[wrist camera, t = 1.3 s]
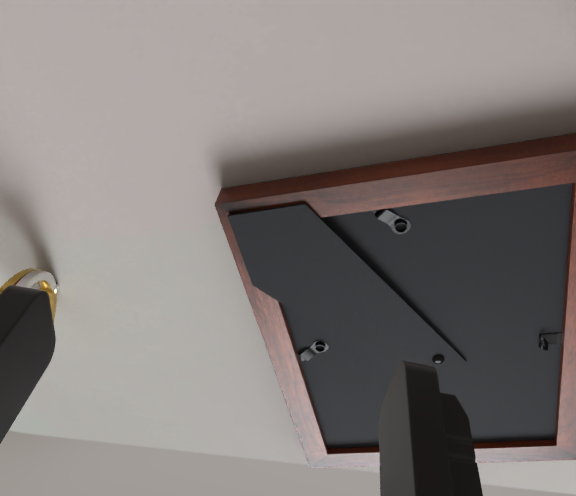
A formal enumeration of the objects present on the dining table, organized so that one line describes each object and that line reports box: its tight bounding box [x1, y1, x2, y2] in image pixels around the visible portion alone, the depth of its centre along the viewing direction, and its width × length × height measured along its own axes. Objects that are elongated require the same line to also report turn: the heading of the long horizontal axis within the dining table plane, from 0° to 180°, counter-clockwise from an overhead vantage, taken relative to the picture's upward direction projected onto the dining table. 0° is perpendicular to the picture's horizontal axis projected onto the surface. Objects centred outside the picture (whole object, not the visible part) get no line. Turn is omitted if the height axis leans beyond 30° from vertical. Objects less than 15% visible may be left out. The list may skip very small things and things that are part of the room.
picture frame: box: [215, 133, 576, 468], centre depth 35 cm, size 20×2×25 cm
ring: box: [0, 268, 59, 323], centre depth 34 cm, size 7×3×8 cm, turn 168°
